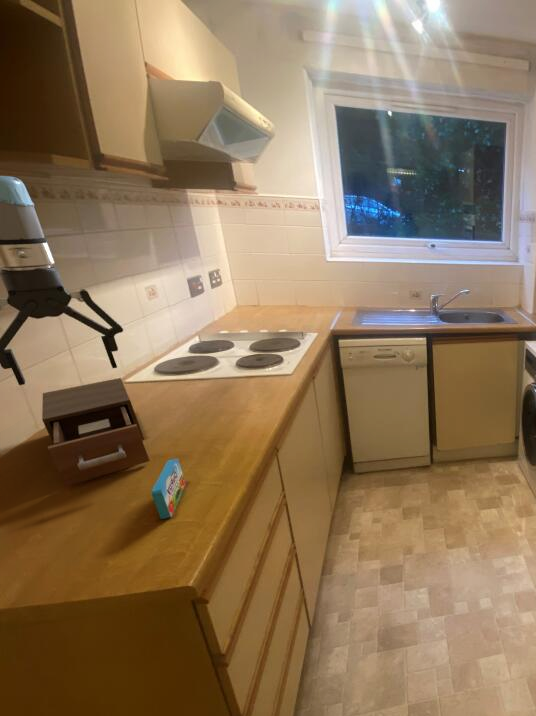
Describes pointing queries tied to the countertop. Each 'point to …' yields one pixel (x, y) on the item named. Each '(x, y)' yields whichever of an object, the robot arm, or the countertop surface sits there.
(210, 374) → the countertop surface
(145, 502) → the countertop surface
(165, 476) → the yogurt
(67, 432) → the drawer
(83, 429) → the block
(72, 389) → the cabinet
